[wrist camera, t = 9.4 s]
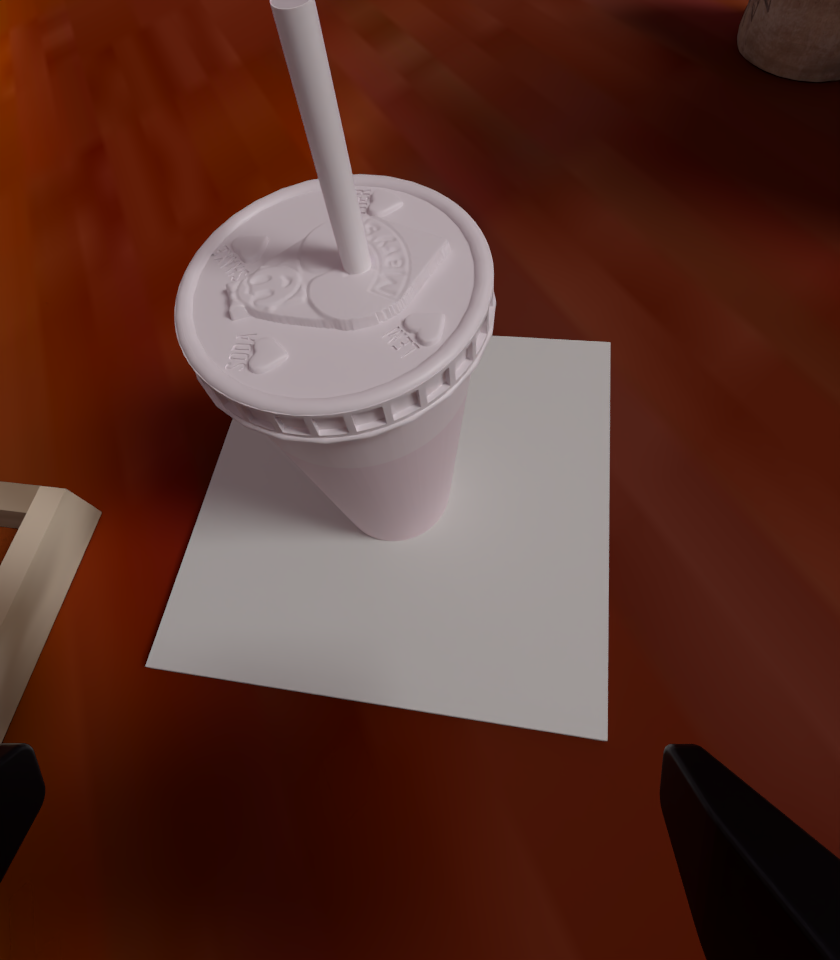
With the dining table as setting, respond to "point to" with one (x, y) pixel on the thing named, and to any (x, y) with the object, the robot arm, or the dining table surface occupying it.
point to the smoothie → (344, 317)
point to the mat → (423, 564)
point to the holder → (35, 577)
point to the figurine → (792, 38)
